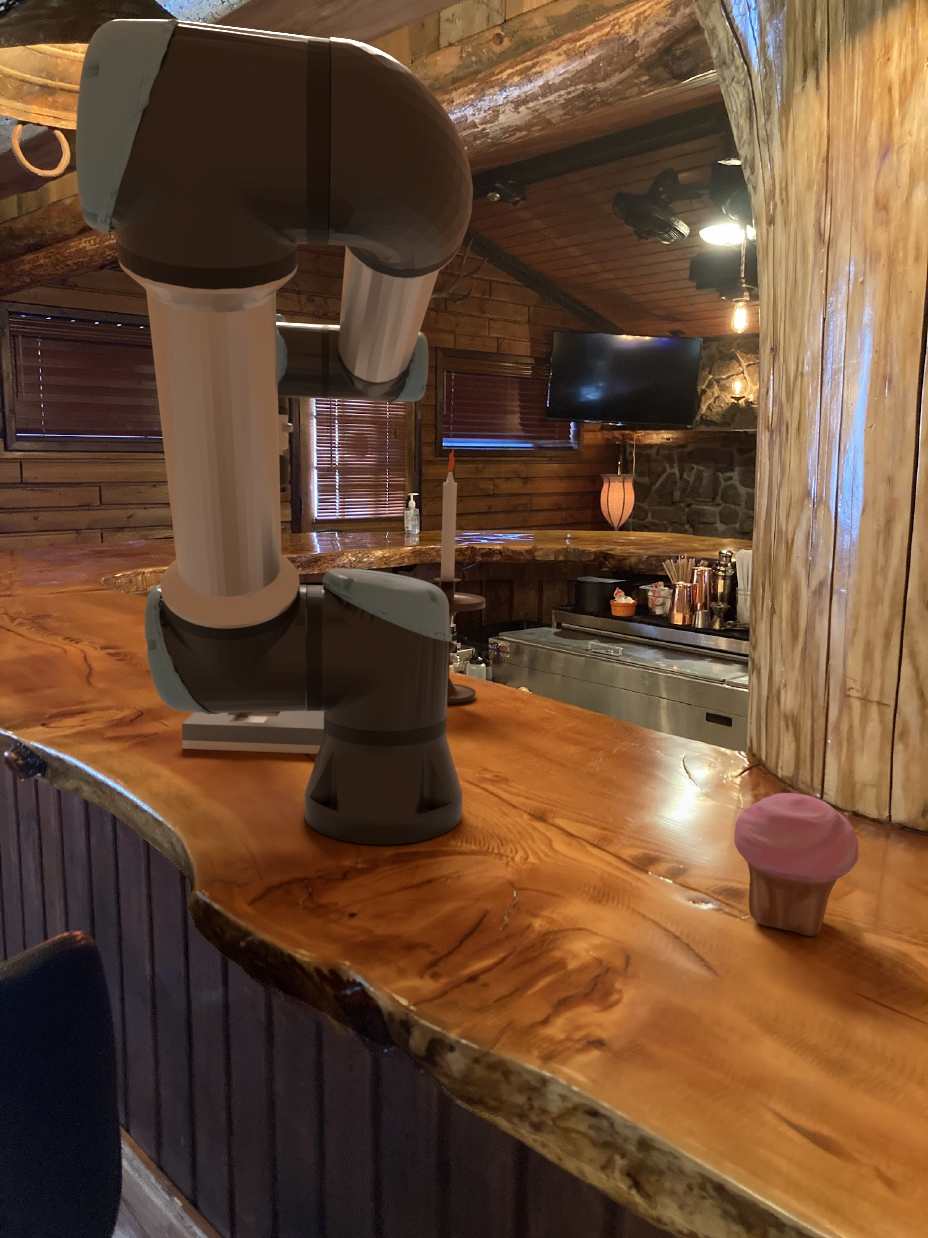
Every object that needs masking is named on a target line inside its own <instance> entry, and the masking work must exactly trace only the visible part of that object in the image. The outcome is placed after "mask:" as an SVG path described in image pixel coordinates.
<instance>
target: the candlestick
mask: <svg viewBox="0 0 928 1238" xmlns="http://www.w3.org/2000/svg"><path fill="white" fill-rule="evenodd" d="M454 452H455V451H454V449H452V451H451V452H450V454H448V455H449V456H448V457H449V461H448V466H447V468H448V471H449V472H447V473H448V474H447V478H446V480H445V481H446V482H443V485H442V524H441V526H442V527H441V557H440V560H441V562H440V563H441V565H440V577H436V578H433V580H434V581H437V582H439V588H440V589H441V590H442V591H443V592H444V593H445V595H446V597H447V599H448V603H449V623H450V633H451V631H452V630H451V626H452V617H453V616H457V613H460V612H471V611H479V610H482V609H484V608H485V607H486V598H485V597H484V596H481V595H477V594H473V593H465V592H455V586H456V585H455V583H456V582H461V581H462V579H460V578H456V577H455V563H456V562H455V559H456V558H455V557H456V528H457V527H456V525H457V524H456V523H457V497H458V493H457V492H458V491H457V489H458V482H455V480H454V476H453V470H454V467H455V457H454ZM455 649H456V643H454V642H453V641H452V640H450V641H449V654H448V687H447V707H448V706H460V705H466V704H469V703H473V702H474V701H475V700H476V690H475V689H474V688H472V687H470V686H467V685H464V684H459V683H458V684H457V683H453V681H452V680H451V677H450V668H451V666H453V665H454V661H453V660H451V654H452V653H454V651H455Z"/></svg>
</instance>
